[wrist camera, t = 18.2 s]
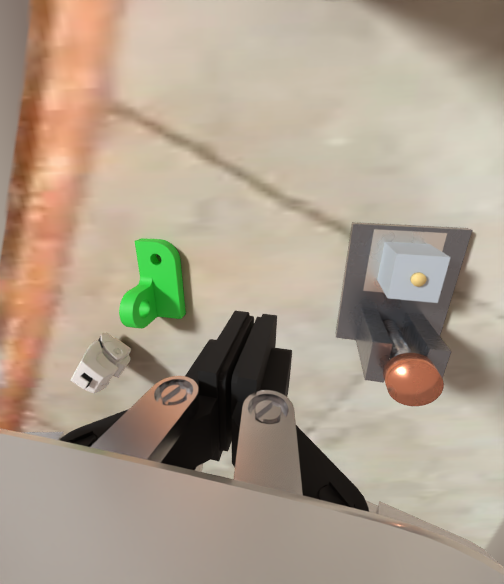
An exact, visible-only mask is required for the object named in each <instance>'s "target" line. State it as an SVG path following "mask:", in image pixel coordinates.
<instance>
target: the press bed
mask: <svg viewBox="0 0 504 584" xmlns="http://www.w3.org/2000/svg"><path fill="white" fill-rule="evenodd" d="M471 233H472V230H471V229H468V228H453V227H433V226H413V225H393V224H373V223H353V222H352V227H351V233H350V240H349V247H348V254H347V260H346V267H345V274H344V280H343V287H342V294H341V301H340V307H339V314H338V321H337V328H336V337H337V338H345V339H353V340H356V343H357V347H358V352H359V356H360V360H361V365H362V369H363V374H364V378H365V380H370V381H377V382H384V377H383V369H384V367H385V365H386V363H387V362H388V361H389V358H390V353H391V349H392V345H393V344H392V342H391V339H390V337H389V335H388V333H387V330H386V328H385V326H384V323H383V321H384V320H393V321H395V322H396V323H397V325H398V327H399V329H400V331H401V333H402V335H403V337H404V338H405V340H406V342H407V344H408V346H409V348H410V350H411V352H412V353H418V354H421V355H424V356H425V357H427V358H429V359H430V360H431V361H432V362H433V364H434V366H435V367H436V369H437V370H438V372H439V374H440V375H441V377H442V378H443V375H444V372H445V369H446V366H447V363H448V360H449V357H450V354H451V351H450V349H449V348H448V347H447V345H446V344H445V343H444V341H443V340H442V339H441V337H440V334H441V331H442V328H443V324H444V321H445V318H446V314H447V311H448V308H449V305H450V301H451V298H452V295H453V292H454V288H455V285H456V282H457V279H458V275H459V272H460V269H461V265H462V262H463V259H464V256H465V252H466V249H467V246H468V243H469V239H470V236H471ZM385 242H400V243H417V244H430V245H432V246H433V247H435V248H437V249H438V250H440V251H441V252H443V253H445V254H446V255H448V256H449V257H450V261H449V265H448V268H447V272H446V275H445V279H444V282H443V286H442V289H441V293H440V296H439V300H438V303H433V302H422V301H411V300H400V299H389V298H387V297H386V295H385V293H384V291H383V290H382V288H381V286H380V284H379V282H378V281H377V279H378V274H379V269H380V264H381V258H382V253H383V248H384V243H385Z"/></svg>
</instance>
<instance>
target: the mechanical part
mask: <svg viewBox="0 0 504 584" xmlns="http://www.w3.org/2000/svg"><path fill="white" fill-rule="evenodd" d="M135 247H136V253H137V260H138V266H139V272H140V282H139V284H138V285H137V286H136V287H134V288H132V289H131V290H129V291H128V292H126V294H125V295H124V296H123V298H122V300H121V303H120V309H119V315H120V319H121V322H122V323H123V324H124V325H125V326H126V327H133V328H145V327H146V326H147V325H148V324H150V323H151V322H152V321H153V320H154V319H155V318H156V317H166V318H176V319H181V318H182V317H183V316H184V315H185V314H186V311H185V301H184V291H183V280H182V270H181V260H180V255H179V253H178V251H177V249H176V248H175V247H174V246H173V245H172V244H171V243H169V242H168V241H165V240H161V239H139V240H136V241H135ZM156 254H158V255H159V256H160V257H161V260H162V261H161V262H160V261H159V260H158V259H157V256H156Z"/></svg>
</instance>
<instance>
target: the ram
mask: <svg viewBox="0 0 504 584" xmlns="http://www.w3.org/2000/svg"><path fill="white" fill-rule="evenodd" d="M383 323H384V326H385V328H386V330H387V333H388V335H389V337H390V339H391V342H392V344H393V345H392V349H391V353H390V360H389V361H388V362H387V363H386V365H385V367H384V369H383V377H384V380H385V383H386V386H387V390H388V392H389V394H390V396H391V397H392V398H393V399H394V400H396V401H397V402H399V403H401V404H404V405H408V406H422V405H426V404H429V403H431V402H433V401H434V400H436V399H437V398H438V397H439V396H440V394H441V393H442V391H443V386H444V383H443V379H442V377H441V375H440V374H439V372H438V370H437V369H436V367H435V366H434V364H433V362H432V361H431V360H430V359H429V358H427V357H425V356H424V355H421V354H418V353H412V352H411V350H410V348H409V346H408V344H407V342H406V340H405V338H404V337H403V335H402V333H401V331H400V329H399V327H398V325H397V323H396V322H395V321H393V320H384V321H383Z"/></svg>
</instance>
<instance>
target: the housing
mask: <svg viewBox="0 0 504 584" xmlns="http://www.w3.org/2000/svg"><path fill="white" fill-rule="evenodd" d="M449 261H450V257H449V256H448V255H446V254H445V253H443V252H441V251H440V250H438V249H437V248H435V247H433V246H432V245H430V244H417V243H400V242H385V243H384V248H383V253H382V258H381V264H380V269H379V274H378V279H377V281H378V282H379V284H380V286H381V288H382V290H383V291H384V293H385V295H386V297H387V298H389V299H400V300H411V301H422V302H433V303H438V300H439V296H440V293H441V289H442V286H443V282H444V279H445V275H446V272H447V268H448V265H449Z"/></svg>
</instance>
